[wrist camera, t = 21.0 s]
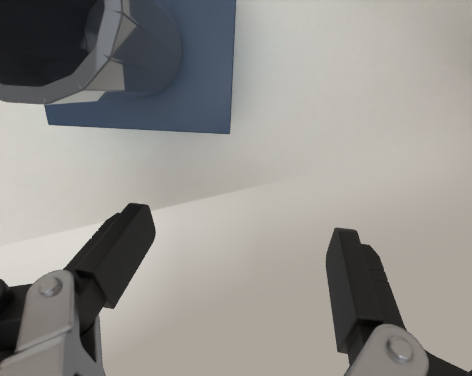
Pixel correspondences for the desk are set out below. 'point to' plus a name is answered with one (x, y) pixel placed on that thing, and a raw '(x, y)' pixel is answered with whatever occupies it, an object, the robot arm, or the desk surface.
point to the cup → (86, 50)
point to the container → (176, 81)
